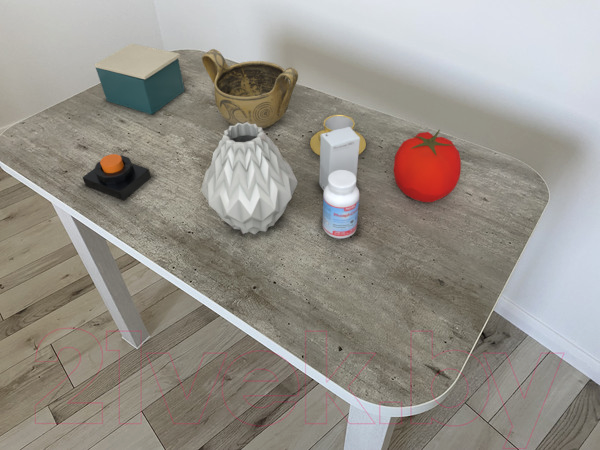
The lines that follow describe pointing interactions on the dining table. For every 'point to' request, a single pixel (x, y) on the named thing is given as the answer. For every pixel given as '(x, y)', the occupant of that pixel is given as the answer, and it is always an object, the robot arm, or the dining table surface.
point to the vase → (248, 179)
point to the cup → (334, 124)
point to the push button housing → (118, 179)
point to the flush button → (112, 163)
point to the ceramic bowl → (250, 89)
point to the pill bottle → (340, 204)
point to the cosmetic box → (338, 153)
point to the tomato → (427, 167)
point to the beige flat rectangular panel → (137, 61)
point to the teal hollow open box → (143, 88)
